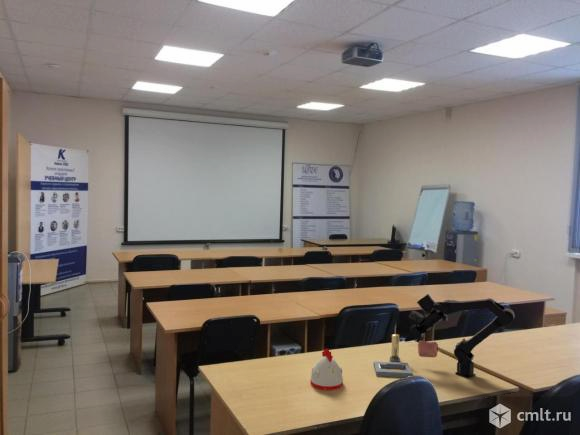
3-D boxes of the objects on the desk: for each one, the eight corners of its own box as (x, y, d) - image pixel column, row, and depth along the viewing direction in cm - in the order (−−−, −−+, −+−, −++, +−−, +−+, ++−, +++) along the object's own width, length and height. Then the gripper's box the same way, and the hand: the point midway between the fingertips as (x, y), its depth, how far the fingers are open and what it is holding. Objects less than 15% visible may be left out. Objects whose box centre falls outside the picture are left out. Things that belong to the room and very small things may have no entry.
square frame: (407, 367, 216) (407, 362, 216) (412, 377, 203) (412, 372, 203) (373, 365, 217) (373, 361, 217) (376, 375, 204) (376, 371, 204)
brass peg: (402, 361, 223) (402, 335, 223) (395, 363, 220) (395, 337, 220) (394, 358, 227) (395, 333, 227) (387, 360, 224) (388, 334, 224)
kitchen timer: (319, 392, 186) (320, 356, 185) (305, 380, 198) (305, 346, 198) (348, 387, 191) (349, 352, 191) (333, 375, 204) (333, 342, 203)
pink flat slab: (418, 342, 257) (418, 339, 257) (436, 344, 254) (437, 341, 254) (416, 357, 232) (416, 353, 232) (437, 359, 229) (437, 356, 229)
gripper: (424, 302, 225) (402, 320, 231) (414, 309, 209) (390, 329, 215) (440, 320, 221) (417, 338, 227) (431, 329, 205) (406, 349, 211)
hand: (407, 338), depth 220 cm, fingers open, 9 cm apart
